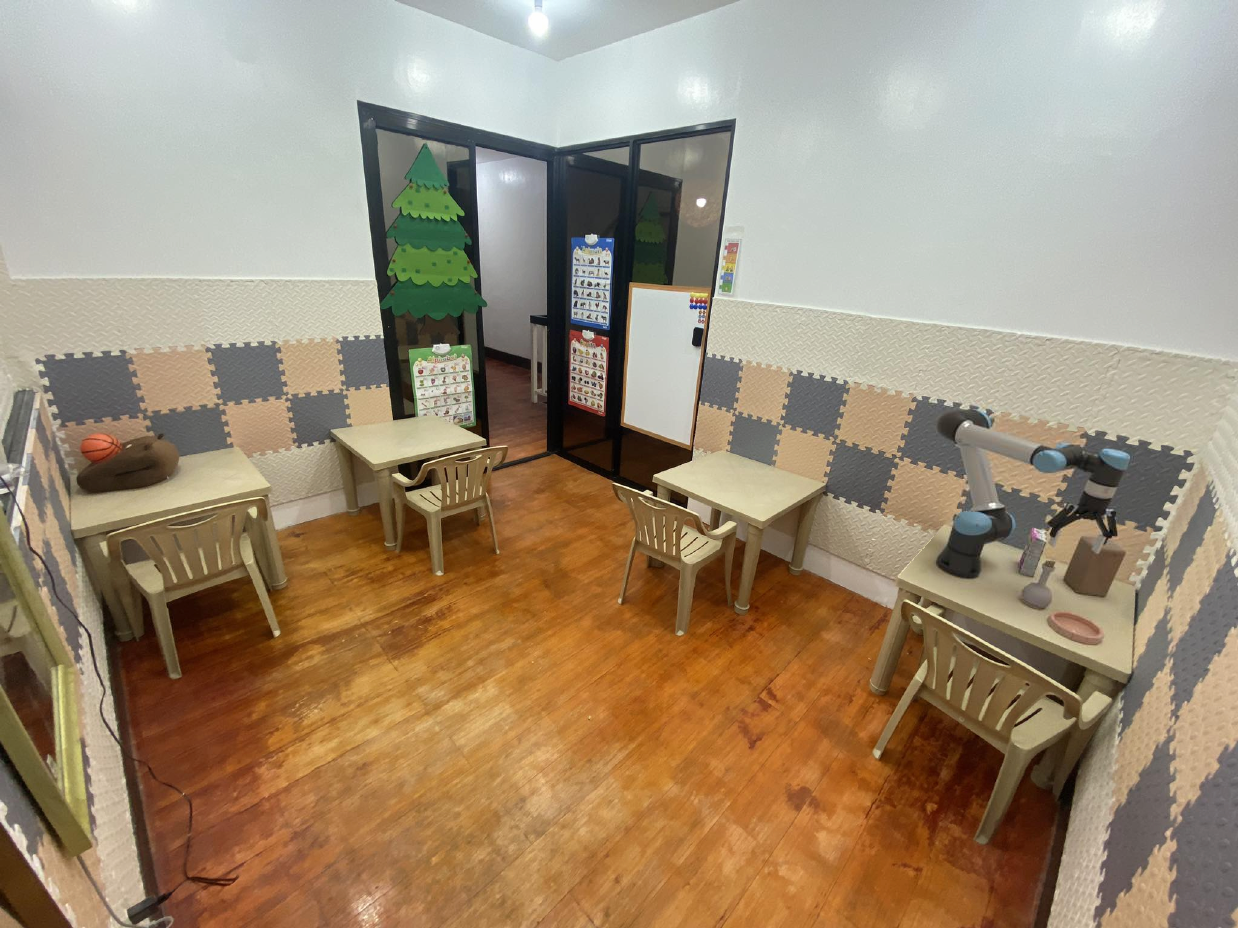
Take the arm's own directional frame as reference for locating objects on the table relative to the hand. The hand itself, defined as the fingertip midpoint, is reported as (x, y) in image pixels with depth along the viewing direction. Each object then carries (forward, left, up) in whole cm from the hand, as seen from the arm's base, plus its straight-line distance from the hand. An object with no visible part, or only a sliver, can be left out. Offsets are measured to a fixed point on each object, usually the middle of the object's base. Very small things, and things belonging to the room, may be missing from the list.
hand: (1072, 548), depth 184 cm
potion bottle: (-6, -6, -22) cm, 24 cm away
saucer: (+4, -17, -22) cm, 28 cm away
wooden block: (+12, +18, -22) cm, 31 cm away
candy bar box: (-6, +21, -22) cm, 31 cm away
